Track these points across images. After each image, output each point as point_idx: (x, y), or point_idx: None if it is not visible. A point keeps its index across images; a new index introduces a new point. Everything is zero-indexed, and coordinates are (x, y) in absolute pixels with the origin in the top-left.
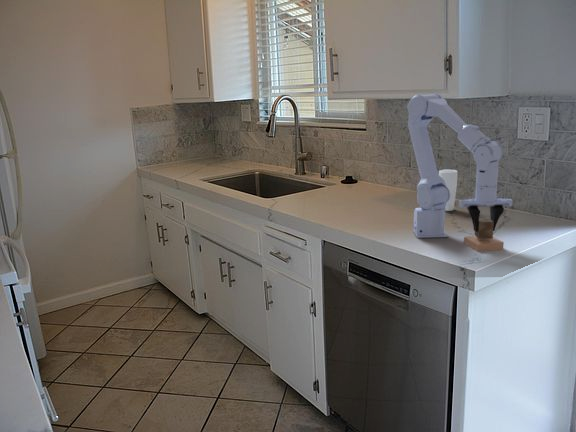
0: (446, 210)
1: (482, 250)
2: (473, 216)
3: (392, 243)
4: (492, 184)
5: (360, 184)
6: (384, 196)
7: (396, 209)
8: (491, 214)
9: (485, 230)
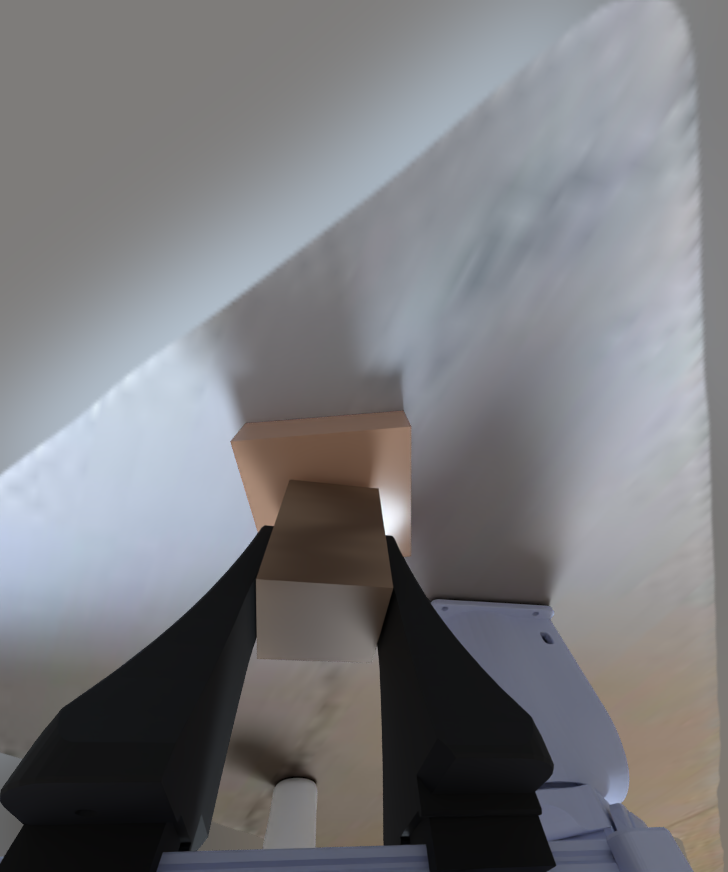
0: (302, 781)
1: (372, 413)
2: (470, 656)
3: (686, 566)
4: None
5: None
6: None
7: None
8: (234, 694)
9: (335, 523)
